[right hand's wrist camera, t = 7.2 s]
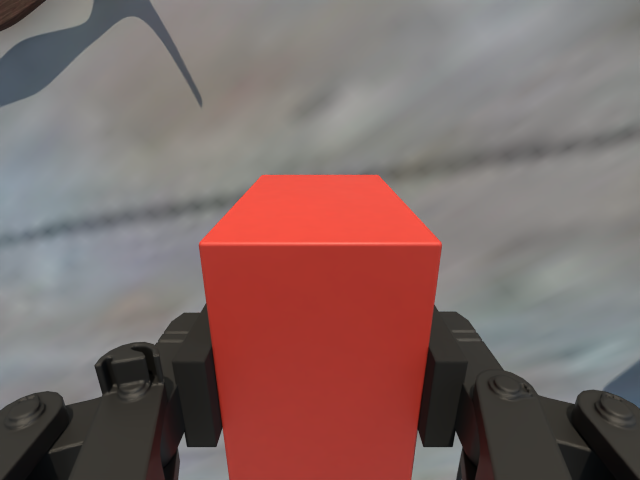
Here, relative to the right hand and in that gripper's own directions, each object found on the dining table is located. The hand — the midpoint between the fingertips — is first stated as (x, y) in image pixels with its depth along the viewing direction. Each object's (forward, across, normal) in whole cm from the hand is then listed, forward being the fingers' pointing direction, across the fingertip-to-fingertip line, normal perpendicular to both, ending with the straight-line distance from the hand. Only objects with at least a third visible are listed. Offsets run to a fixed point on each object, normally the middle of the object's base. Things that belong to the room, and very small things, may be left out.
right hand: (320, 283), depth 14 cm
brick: (+3, 0, 0) cm, 3 cm away
